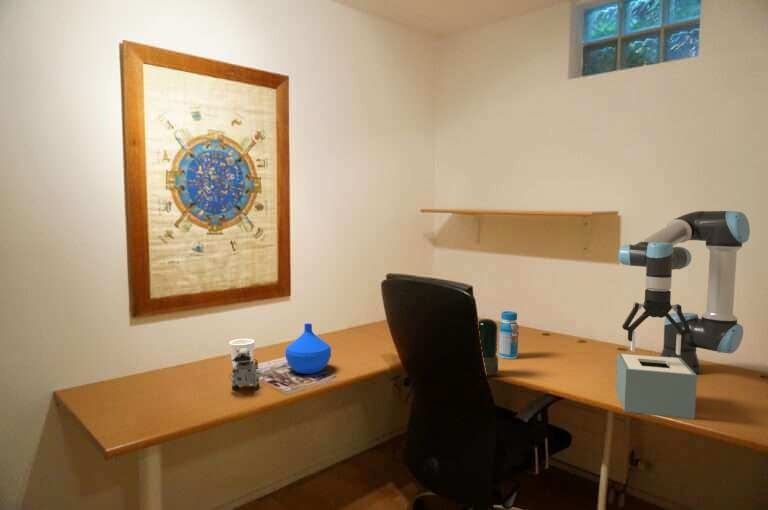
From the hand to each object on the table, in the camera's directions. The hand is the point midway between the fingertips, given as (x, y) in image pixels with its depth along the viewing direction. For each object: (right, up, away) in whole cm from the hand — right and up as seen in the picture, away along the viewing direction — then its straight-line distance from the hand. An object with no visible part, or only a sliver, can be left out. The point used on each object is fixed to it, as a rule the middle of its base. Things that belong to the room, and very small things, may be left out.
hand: (654, 352), depth 170 cm
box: (0, -18, +2) cm, 18 cm away
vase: (-121, -15, +37) cm, 127 cm away
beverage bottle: (-35, -13, +57) cm, 68 cm away
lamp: (-50, -15, +34) cm, 62 cm away
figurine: (-141, -17, +14) cm, 142 cm away
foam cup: (-146, -15, +33) cm, 151 cm away
